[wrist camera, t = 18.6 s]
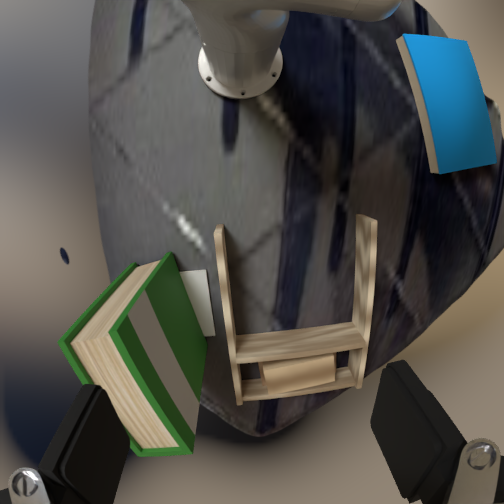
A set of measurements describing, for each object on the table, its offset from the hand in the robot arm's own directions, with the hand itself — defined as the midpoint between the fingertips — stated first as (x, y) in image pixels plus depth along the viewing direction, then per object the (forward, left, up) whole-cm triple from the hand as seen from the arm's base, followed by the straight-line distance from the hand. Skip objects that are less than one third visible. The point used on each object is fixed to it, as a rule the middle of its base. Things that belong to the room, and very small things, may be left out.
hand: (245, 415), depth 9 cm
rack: (+16, +8, -38) cm, 42 cm away
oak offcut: (+27, +8, -36) cm, 46 cm away
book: (-19, +40, -39) cm, 59 cm away
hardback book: (+14, -13, -38) cm, 42 cm away
